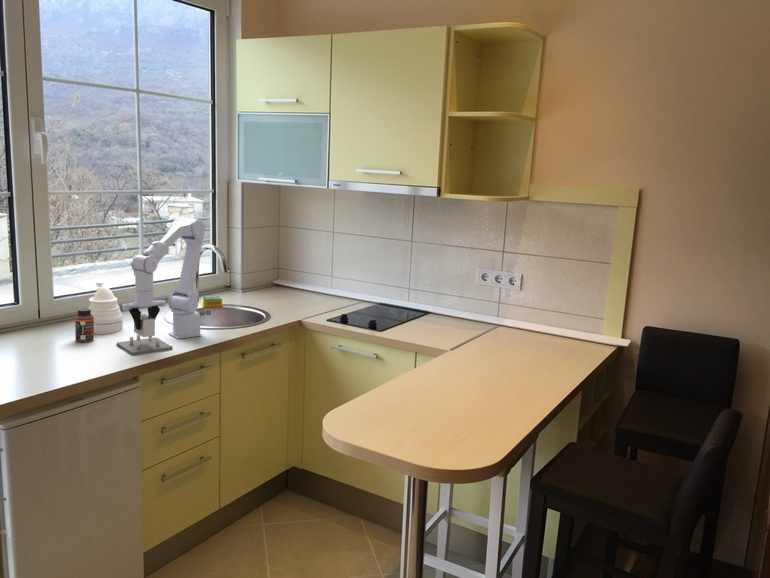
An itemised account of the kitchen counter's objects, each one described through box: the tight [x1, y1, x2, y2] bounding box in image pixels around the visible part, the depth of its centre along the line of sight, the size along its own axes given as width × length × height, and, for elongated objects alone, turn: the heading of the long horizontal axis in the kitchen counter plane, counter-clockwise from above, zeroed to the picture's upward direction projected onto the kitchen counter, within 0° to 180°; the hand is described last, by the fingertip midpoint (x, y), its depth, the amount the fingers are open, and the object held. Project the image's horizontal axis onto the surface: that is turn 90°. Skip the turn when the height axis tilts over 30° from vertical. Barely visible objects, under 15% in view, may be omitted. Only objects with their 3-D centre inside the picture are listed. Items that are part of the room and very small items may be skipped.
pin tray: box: [116, 333, 173, 356], centre depth 224 cm, size 14×14×4 cm
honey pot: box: [87, 280, 124, 334], centre depth 242 cm, size 13×13×18 cm
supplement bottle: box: [74, 307, 95, 343], centre depth 227 cm, size 6×6×11 cm
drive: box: [133, 313, 156, 338], centre depth 223 cm, size 8×4×6 cm, turn 43°
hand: (144, 328), depth 223 cm, fingers closed on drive, 4 cm apart
